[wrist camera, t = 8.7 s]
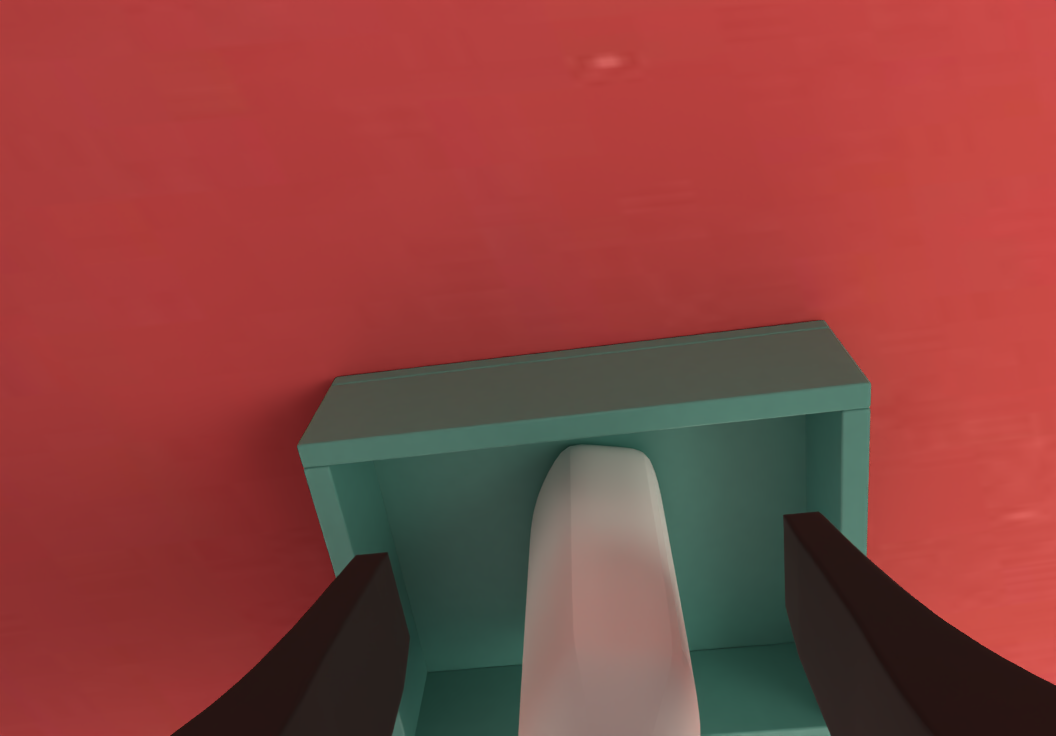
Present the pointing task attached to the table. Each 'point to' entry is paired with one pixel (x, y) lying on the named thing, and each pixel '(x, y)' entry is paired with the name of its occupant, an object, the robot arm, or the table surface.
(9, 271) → the table surface
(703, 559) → the desk tidy
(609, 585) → the eye dropper bottle
